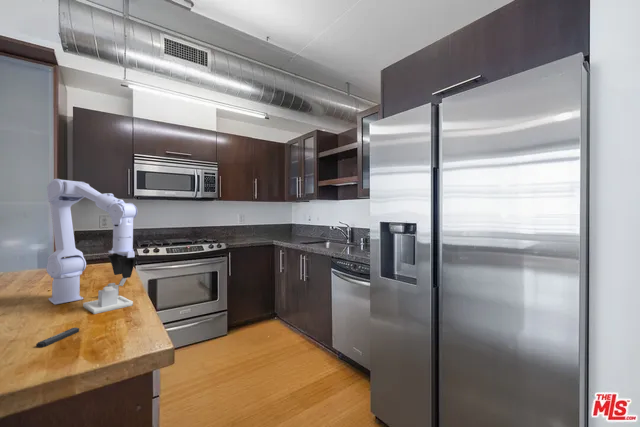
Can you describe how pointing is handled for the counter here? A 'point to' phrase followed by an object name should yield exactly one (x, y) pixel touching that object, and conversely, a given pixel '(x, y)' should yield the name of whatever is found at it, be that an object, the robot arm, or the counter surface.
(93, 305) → the dish
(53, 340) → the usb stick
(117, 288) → the lighter
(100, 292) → the plug
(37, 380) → the counter surface
